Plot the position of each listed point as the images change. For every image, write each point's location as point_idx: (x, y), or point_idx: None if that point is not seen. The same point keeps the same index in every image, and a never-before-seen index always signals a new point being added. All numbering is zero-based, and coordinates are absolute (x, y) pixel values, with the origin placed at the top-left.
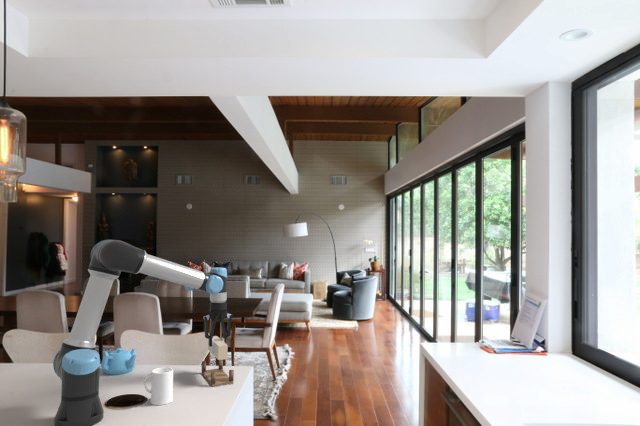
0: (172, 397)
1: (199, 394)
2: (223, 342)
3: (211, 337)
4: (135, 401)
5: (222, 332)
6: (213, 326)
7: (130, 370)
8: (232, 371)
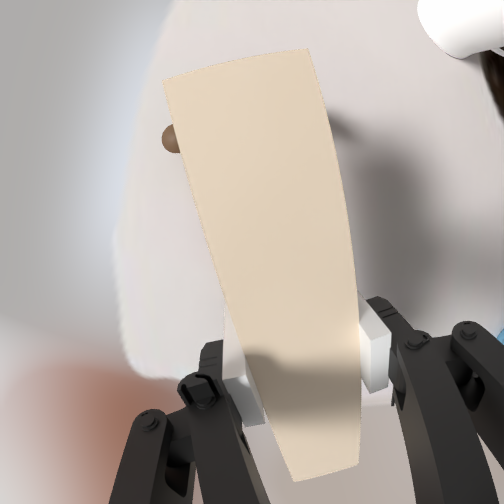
0: (424, 6)
1: (337, 26)
2: (231, 270)
3: (416, 349)
4: (499, 67)
5: (255, 469)
6: (474, 489)
7: (499, 338)
8: (170, 126)
